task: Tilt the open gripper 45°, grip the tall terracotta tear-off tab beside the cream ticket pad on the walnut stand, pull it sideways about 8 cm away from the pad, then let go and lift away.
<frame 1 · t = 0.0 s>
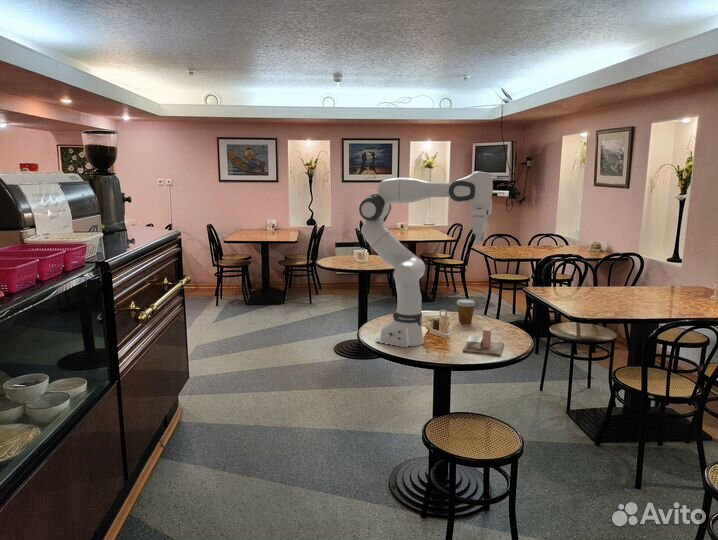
hand: (479, 242, 220), 48 cm above the table, tool pointing down, fingers open, 8 cm apart
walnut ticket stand: (483, 348, 229), on the table
terracotta tab: (486, 337, 228), point 5 cm above the table, slide at 0.0 cm
disposable coffee cup: (465, 323, 269), on the table
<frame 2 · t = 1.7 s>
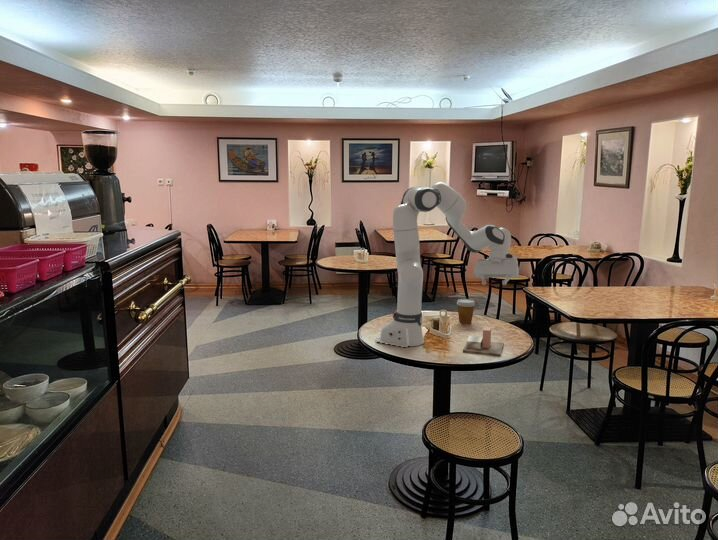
hand: (493, 284, 236), 27 cm above the table, tool tilted 40°, fingers open, 8 cm apart
nothing on the table moved.
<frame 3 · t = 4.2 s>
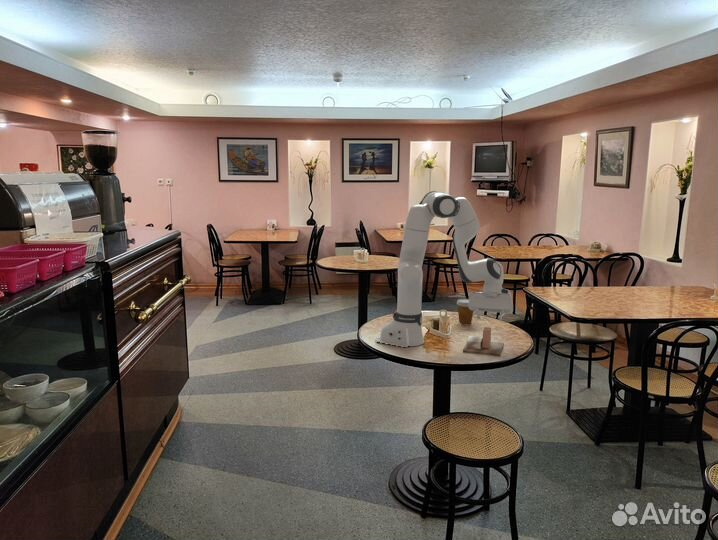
hand: (489, 318, 234), 12 cm above the table, tool tilted 45°, fingers open, 8 cm apart
nothing on the table moved.
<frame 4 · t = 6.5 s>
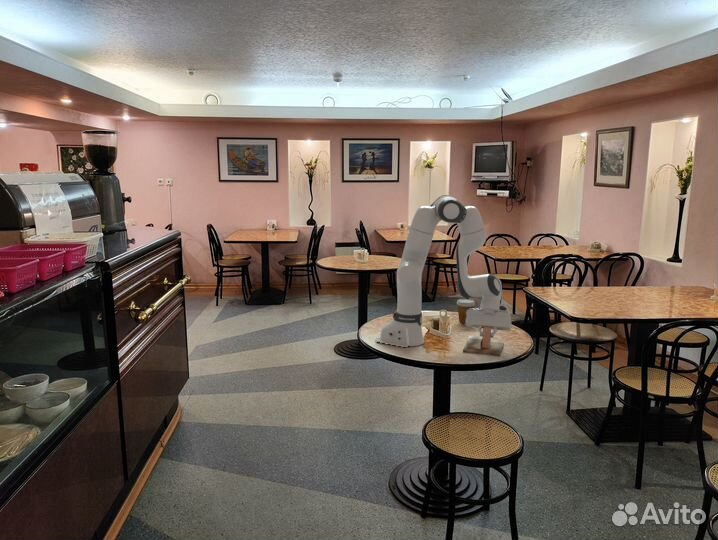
hand: (486, 336, 228), 6 cm above the table, tool tilted 45°, fingers closed on terracotta tab, 3 cm apart
terracotta tab: (486, 337, 228), point 5 cm above the table, slide at -0.1 cm, touching gripper
everything else where it was.
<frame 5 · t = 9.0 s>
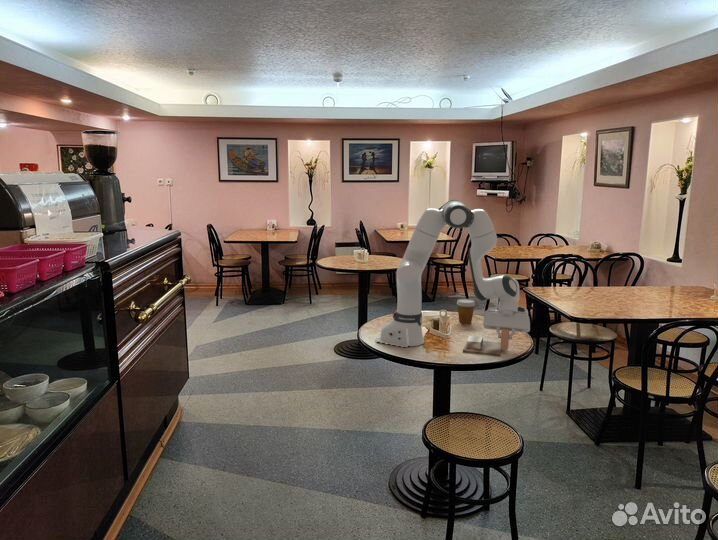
hand: (505, 338, 225), 6 cm above the table, tool tilted 45°, fingers closed on terracotta tab, 3 cm apart
terracotta tab: (504, 339, 225), point 5 cm above the table, slide at 7.8 cm, touching gripper
everything else where it was.
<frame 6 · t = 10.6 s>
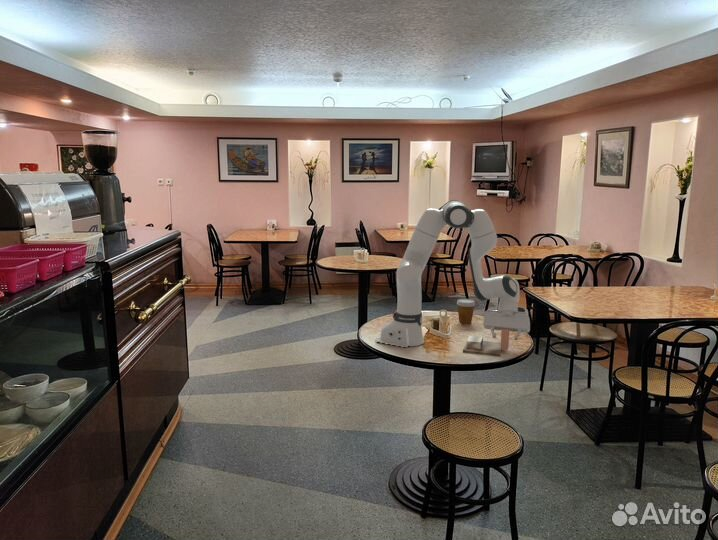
hand: (505, 338, 225), 6 cm above the table, tool tilted 45°, fingers open, 8 cm apart
terracotta tab: (505, 339, 225), point 5 cm above the table, slide at 7.8 cm
everything else where it was.
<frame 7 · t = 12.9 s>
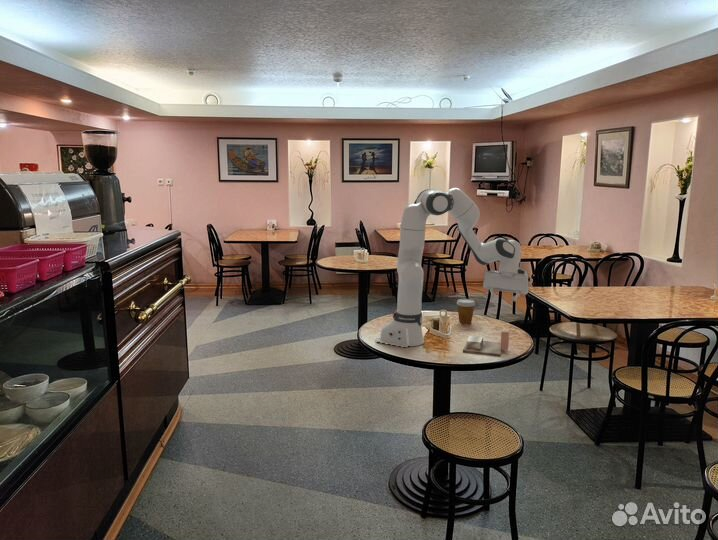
hand: (503, 299, 233), 21 cm above the table, tool tilted 40°, fingers open, 8 cm apart
nothing on the table moved.
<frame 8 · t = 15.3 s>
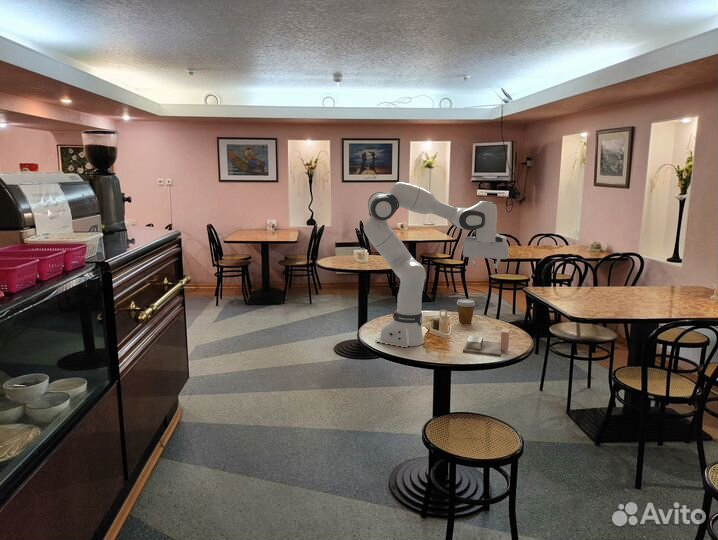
hand: (484, 267, 233), 35 cm above the table, tool pointing down, fingers open, 8 cm apart
nothing on the table moved.
at the end: terracotta tab slide at 7.8 cm; the gripper is holding nothing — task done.
